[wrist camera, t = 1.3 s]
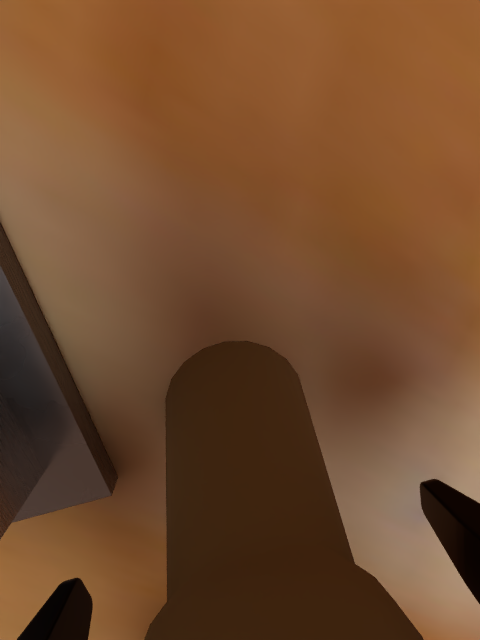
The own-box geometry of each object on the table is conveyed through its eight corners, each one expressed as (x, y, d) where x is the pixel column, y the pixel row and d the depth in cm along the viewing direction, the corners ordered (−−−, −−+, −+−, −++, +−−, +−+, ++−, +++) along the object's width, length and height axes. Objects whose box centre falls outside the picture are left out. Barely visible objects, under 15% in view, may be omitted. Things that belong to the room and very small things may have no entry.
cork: (262, 478, 15) (383, 1051, 5) (142, 435, 14) (-61, 1105, 3) (328, 375, 14) (705, 853, 3) (203, 316, 12) (183, 808, 2)
